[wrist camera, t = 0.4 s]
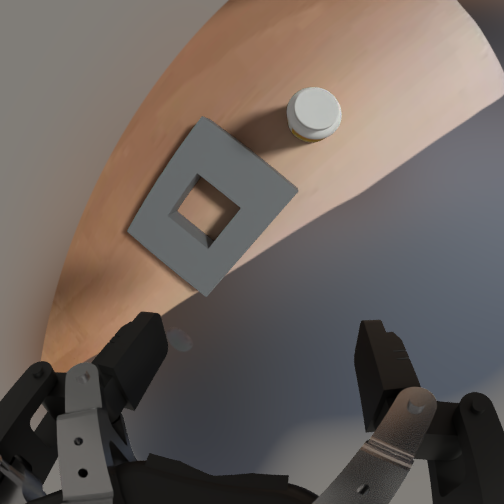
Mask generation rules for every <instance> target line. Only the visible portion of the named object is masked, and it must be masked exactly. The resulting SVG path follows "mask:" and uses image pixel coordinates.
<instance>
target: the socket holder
mask: <svg viewBox="0 0 504 504" xmlns="http://www.w3.org/2000/svg"><path fill="white" fill-rule="evenodd" d="M200 177H203V178H204V179H205V180H207V181H208V182H209V183H210V184H212V185H213V186H214V187H215V188H217V189H218V190H219V191H220V192H222V193H223V194H224V195H225V196H227V197H228V198H229V199H230V200H231V201H233V202H234V203H235V204H236V205H238V206H239V207H240V208H241V209H240V210H239V211H238V212H237V214H236V215H235V216H234V217H233V219H232V220H231V221H230V222H229V224H228V225H227V226H226V227H225V229H224V230H223V231H222V232H221V234H220V235H219V236H218V237H217V239H216V240H215V241H213V240H212V239H211V238H209V237H208V236H207V235H206V234H205V233H203V232H202V231H201V230H200V229H198V228H197V227H196V226H195V225H193V224H192V223H191V222H190V221H189V220H187V219H186V218H185V217H184V216H182V215H181V214H180V213H179V212H178V211H177V210H178V208H179V207H180V205H181V204H182V202H183V201H184V200H185V198H186V197H187V195H188V194H189V192H190V191H191V190H192V188H193V187H194V185H195V184H196V183H197V181H198V180H199V179H200ZM297 192H298V188H297V187H295V186H294V185H293V184H292V183H291V182H290V181H288V180H287V179H286V178H285V177H284V176H282V175H281V174H280V173H279V172H278V171H276V170H275V169H274V168H273V167H271V166H270V165H269V164H268V163H267V162H265V161H264V160H263V159H262V158H260V157H259V156H258V155H256V154H255V153H254V152H253V151H251V150H250V149H249V148H248V147H246V146H245V145H244V144H242V143H241V142H240V141H238V140H237V139H236V138H235V137H233V136H232V135H231V134H229V133H228V132H227V131H225V130H224V129H222V128H221V127H220V126H218V125H217V124H216V123H214V122H213V121H212V120H210V119H208V118H206V117H203V116H202V117H201V118H200V120H199V121H198V122H197V124H196V125H195V126H194V128H193V129H192V130H191V132H190V133H189V134H188V136H187V137H186V139H185V140H184V141H183V143H182V144H181V146H180V147H179V148H178V150H177V151H176V153H175V154H174V156H173V157H172V159H171V160H170V162H169V163H168V165H167V166H166V168H165V169H164V171H163V172H162V174H161V175H160V177H159V178H158V180H157V181H156V183H155V185H154V186H153V188H152V189H151V191H150V193H149V194H148V196H147V198H146V199H145V201H144V202H143V204H142V206H141V208H140V209H139V211H138V213H137V214H136V216H135V218H134V220H133V221H132V223H131V225H130V227H129V228H128V230H127V232H128V233H129V234H131V235H132V236H133V237H134V238H135V239H136V240H137V241H139V242H140V243H141V244H142V245H143V246H144V247H146V248H147V249H148V250H149V251H150V252H151V253H153V254H154V255H155V256H156V257H157V258H159V259H160V260H161V261H162V262H163V263H165V264H166V265H167V266H168V267H169V268H171V269H172V270H173V271H174V272H176V273H177V274H178V275H179V276H180V277H182V278H183V279H184V280H185V281H187V282H188V283H189V284H190V285H192V286H193V287H194V288H195V289H197V290H198V291H199V292H201V293H202V294H203V295H204V296H206V297H207V296H208V295H209V293H210V292H211V291H212V290H213V289H214V288H215V287H216V285H217V284H218V283H219V282H220V281H221V280H222V278H223V277H224V276H225V275H226V274H227V273H228V272H229V270H230V269H231V268H232V267H233V266H234V265H235V263H236V262H237V261H238V260H239V259H240V258H241V257H242V255H243V254H244V253H245V252H246V251H247V250H248V248H249V247H250V246H251V245H252V244H253V243H254V242H255V240H256V239H257V238H258V237H259V236H260V235H261V234H262V232H263V231H264V230H265V229H266V228H267V227H268V225H269V224H270V223H271V222H272V221H273V220H274V219H275V217H276V216H277V215H278V214H279V213H280V212H281V211H282V209H283V208H284V207H285V206H286V205H287V204H288V203H289V201H290V200H291V199H292V198H293V197H294V196H295V195H296V193H297Z"/></svg>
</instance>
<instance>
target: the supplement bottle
mask: <svg viewBox="0 0 504 504" xmlns="http://www.w3.org/2000/svg"><path fill="white" fill-rule="evenodd" d="M341 116H342V114H341V108H340V105H339V103H338V101H337V100H336V98H335V97H334V96H333V95H332V94H331V93H330V92H329V91H327V90H325V89H322V88H317V87H309V88H305V89H302V90H300V91H298V92H297V93H295V94H294V95H293V96H292V98H291V99H290V101H289V103H288V106H287V121H288V126H289V128H290V130H291V132H292V133H293V134H294V135H295V136H296V137H297V138H298V139H300V140H302V141H305V142H318V141H321V140H323V139H325V138H327V137H328V136H330V135H331V134H333V133H334V132H335V131H336V130H337V128H338V127H339V124H340V122H341Z"/></svg>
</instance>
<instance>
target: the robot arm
mask: <svg viewBox="0 0 504 504" xmlns="http://www.w3.org/2000/svg"><path fill="white" fill-rule="evenodd" d="M167 352H168V342H167V338H166V334H165V331H164V327H163V323H162V319H161V316H160V314H158V313H151V312H140V313H139V314H138V315H137V317H136V318H135V319H134V320H133V321H132V322H129V323H128V324H126V325H124V326H123V327H121V328H120V329H119V331H118V332H117V333H116V334H115V337H113V338H112V339H111V340H110V342H109V343H107V345H106V346H105V347H104V348H103V349H102V351H101V352H100V353H99V354H98V355H97V357H96V358H95V359H94V360H93V361H92V363H80V364H77V365H75V366H73V367H72V368H71V369H70V370H69V371H68V372H67V373H57V372H54V370H53V368H52V366H51V365H50V364H49V363H48V362H45V361H41V362H37V363H35V364H33V365H31V366H30V367H29V368H28V369H27V370H26V371H25V373H24V374H23V375H22V376H21V377H20V378H19V380H18V381H17V382H16V383H15V384H14V386H13V387H12V388H11V389H10V390H9V391H8V393H7V394H6V395H5V396H4V398H3V399H2V400H1V401H0V504H389V502H390V501H391V499H392V498H393V496H394V495H395V493H396V492H397V490H398V489H399V487H400V486H401V484H402V482H403V481H404V479H405V477H406V476H407V474H408V472H409V471H410V469H411V467H412V465H413V462H414V461H413V459H426V460H427V461H428V468H429V474H430V482H431V489H432V499H433V504H504V431H503V428H502V426H501V423H500V421H499V418H498V415H497V413H496V411H495V408H494V406H493V404H492V402H491V400H490V399H489V398H488V397H487V396H486V395H484V394H481V393H477V392H472V393H468V394H466V395H465V396H464V397H463V398H462V399H461V401H460V403H450V402H440V401H436V398H435V397H434V395H433V394H432V393H431V392H429V391H428V390H427V389H424V388H421V386H420V383H419V381H418V378H417V376H416V373H415V371H414V368H413V366H412V364H411V361H410V359H409V356H408V354H407V352H406V349H405V347H404V344H403V342H402V340H401V339H400V338H399V337H398V336H397V335H396V334H395V333H393V332H386V331H385V328H384V326H383V324H382V321H381V320H363V321H361V323H360V328H359V333H358V338H357V344H356V348H355V354H354V365H355V371H356V376H357V382H358V387H359V393H360V398H361V404H362V411H363V417H364V424H365V430H366V432H374V433H373V435H372V436H371V438H370V439H369V440H368V441H366V442H365V443H364V444H363V446H362V447H361V448H360V449H359V451H358V452H357V453H356V455H355V456H354V457H353V458H352V460H351V461H350V462H349V463H348V465H347V466H346V467H345V468H344V469H343V471H342V472H341V473H340V474H339V475H338V476H337V478H336V479H335V480H334V481H333V482H332V483H331V484H330V486H329V487H328V488H327V489H326V490H325V491H324V492H323V493H322V494H321V495H320V496H318V495H316V494H315V493H313V492H311V491H309V490H307V489H305V488H303V487H299V486H297V485H293V484H290V483H288V477H289V476H288V475H268V474H255V473H249V474H239V475H223V476H213V475H209V474H207V473H204V472H202V471H200V470H197V469H195V468H193V467H191V466H189V465H187V464H185V463H182V462H181V461H177V460H172V459H169V458H165V457H161V456H158V455H154V454H151V453H150V454H149V456H148V458H147V460H146V461H137V459H136V457H135V455H134V453H133V451H132V448H131V444H130V440H129V437H128V433H127V429H126V425H125V421H124V417H123V415H122V413H121V412H122V410H123V408H127V409H130V410H135V409H136V407H137V406H138V404H139V402H140V400H141V399H142V397H143V395H144V393H145V392H146V390H147V388H148V386H149V385H150V383H151V381H152V380H153V377H154V376H155V374H156V373H157V371H158V369H159V367H160V366H161V364H162V362H163V361H164V359H165V357H166V355H167ZM41 404H42V405H43V406H44V407H45V409H46V410H47V411H48V412H47V414H46V415H45V416H44V418H43V419H42V421H41V422H40V424H39V425H38V427H37V428H36V430H35V431H34V432H33V430H32V429H31V427H30V420H31V418H32V416H33V414H34V413H35V412H36V410H37V409H38V408H39V406H40V405H41ZM57 458H59V469H60V476H61V477H60V478H61V485H62V490H59V491H57V492H54V493H51V494H48V495H46V493H45V492H44V491H43V487H42V485H43V484H44V482H45V480H46V478H47V476H48V474H49V472H50V470H51V468H52V467H53V465H54V463H55V461H56V459H57Z"/></svg>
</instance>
